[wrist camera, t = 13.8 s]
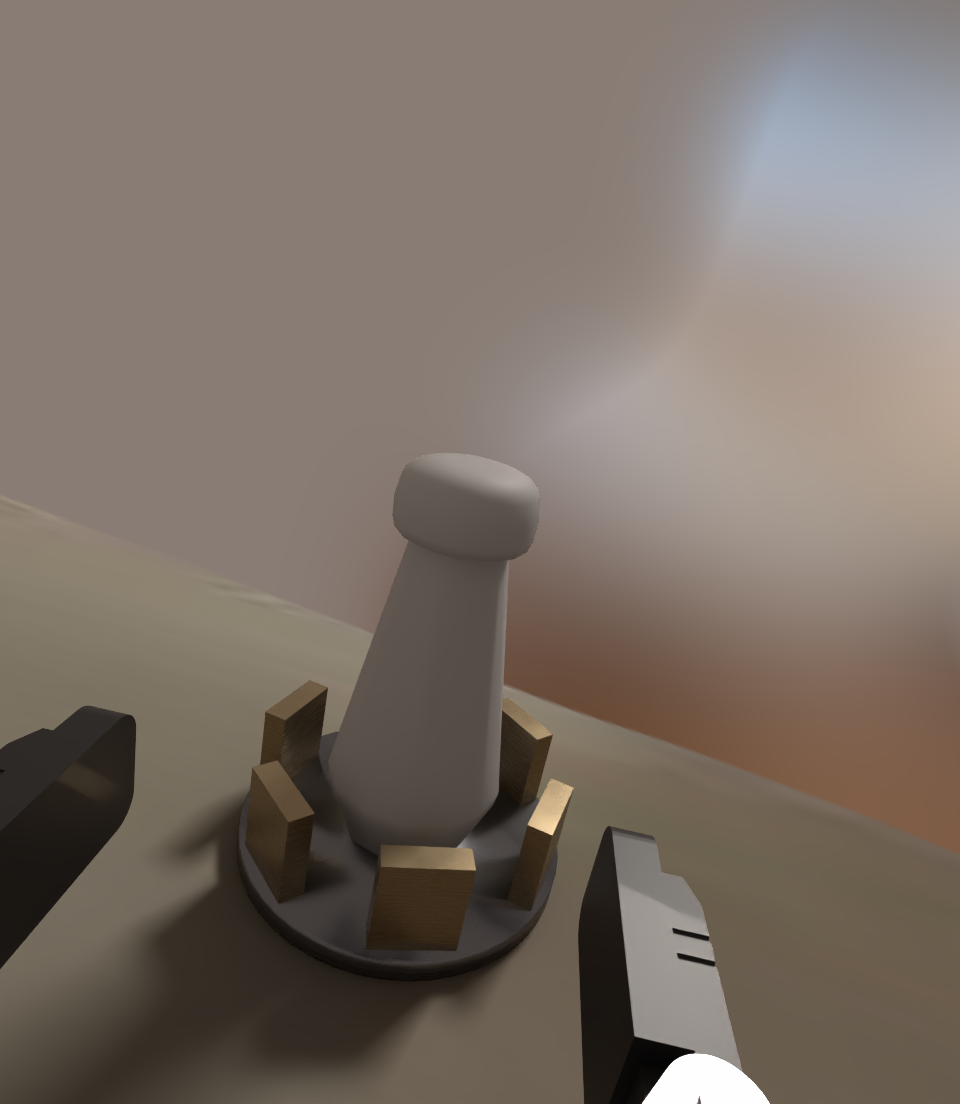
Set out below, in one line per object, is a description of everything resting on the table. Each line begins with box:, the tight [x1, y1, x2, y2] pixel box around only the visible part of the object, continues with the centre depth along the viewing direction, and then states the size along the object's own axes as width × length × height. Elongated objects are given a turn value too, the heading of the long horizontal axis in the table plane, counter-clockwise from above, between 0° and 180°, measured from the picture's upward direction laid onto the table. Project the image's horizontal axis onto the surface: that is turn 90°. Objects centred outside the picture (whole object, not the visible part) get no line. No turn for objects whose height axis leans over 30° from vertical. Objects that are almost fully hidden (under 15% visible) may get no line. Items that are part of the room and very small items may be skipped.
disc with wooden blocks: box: [237, 680, 573, 980], centre depth 25 cm, size 11×11×4 cm
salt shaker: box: [328, 453, 540, 856], centre depth 23 cm, size 6×6×13 cm
